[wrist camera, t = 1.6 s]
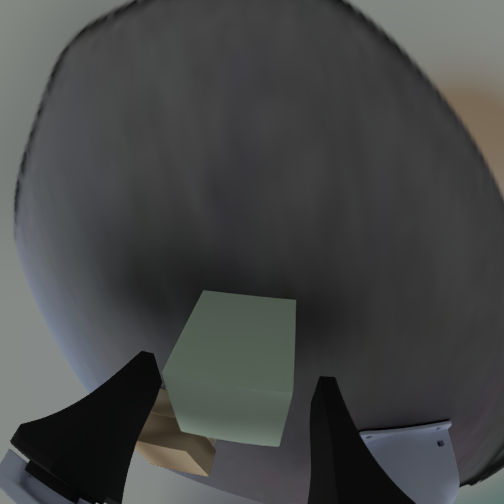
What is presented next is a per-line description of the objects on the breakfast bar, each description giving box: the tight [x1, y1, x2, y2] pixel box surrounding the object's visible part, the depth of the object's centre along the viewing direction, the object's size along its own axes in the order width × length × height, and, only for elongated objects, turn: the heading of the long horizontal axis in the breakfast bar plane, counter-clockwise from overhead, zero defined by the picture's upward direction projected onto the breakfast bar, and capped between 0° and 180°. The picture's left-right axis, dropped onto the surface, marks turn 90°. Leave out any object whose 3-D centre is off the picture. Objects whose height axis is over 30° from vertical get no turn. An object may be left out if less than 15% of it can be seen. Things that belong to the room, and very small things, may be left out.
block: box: [162, 290, 296, 447], centre depth 12 cm, size 4×4×6 cm
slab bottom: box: [150, 388, 216, 447], centre depth 18 cm, size 6×6×2 cm
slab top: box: [134, 414, 216, 476], centre depth 16 cm, size 5×5×2 cm
